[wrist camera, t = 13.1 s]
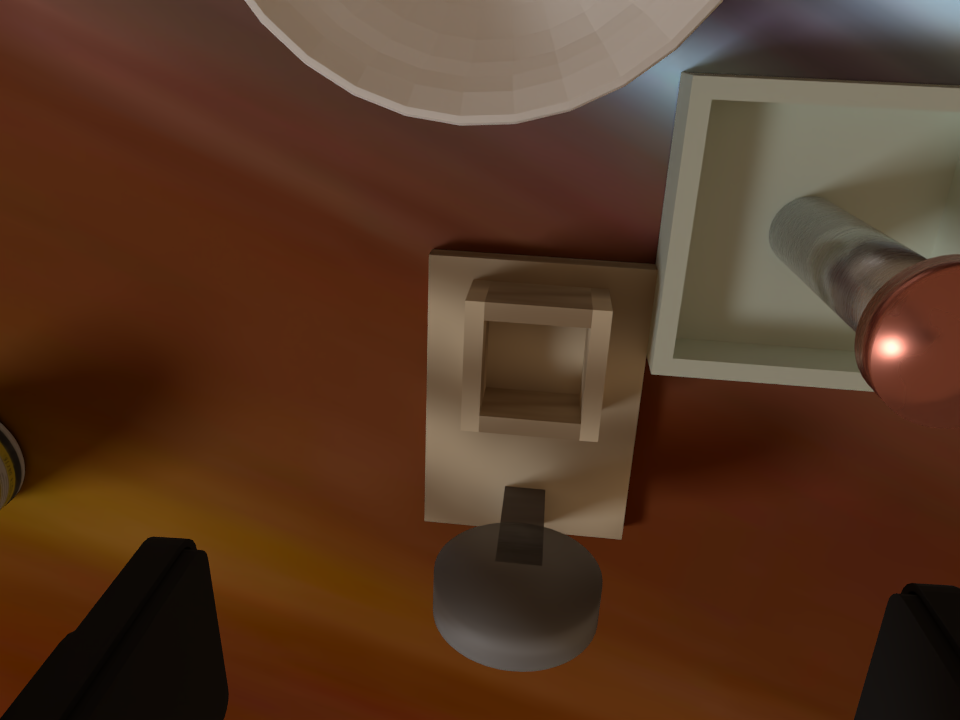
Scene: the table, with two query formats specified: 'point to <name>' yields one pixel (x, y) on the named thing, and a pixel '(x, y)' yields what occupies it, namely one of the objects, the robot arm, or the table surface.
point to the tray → (770, 186)
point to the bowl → (481, 50)
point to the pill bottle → (10, 467)
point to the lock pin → (882, 305)
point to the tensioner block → (529, 443)
